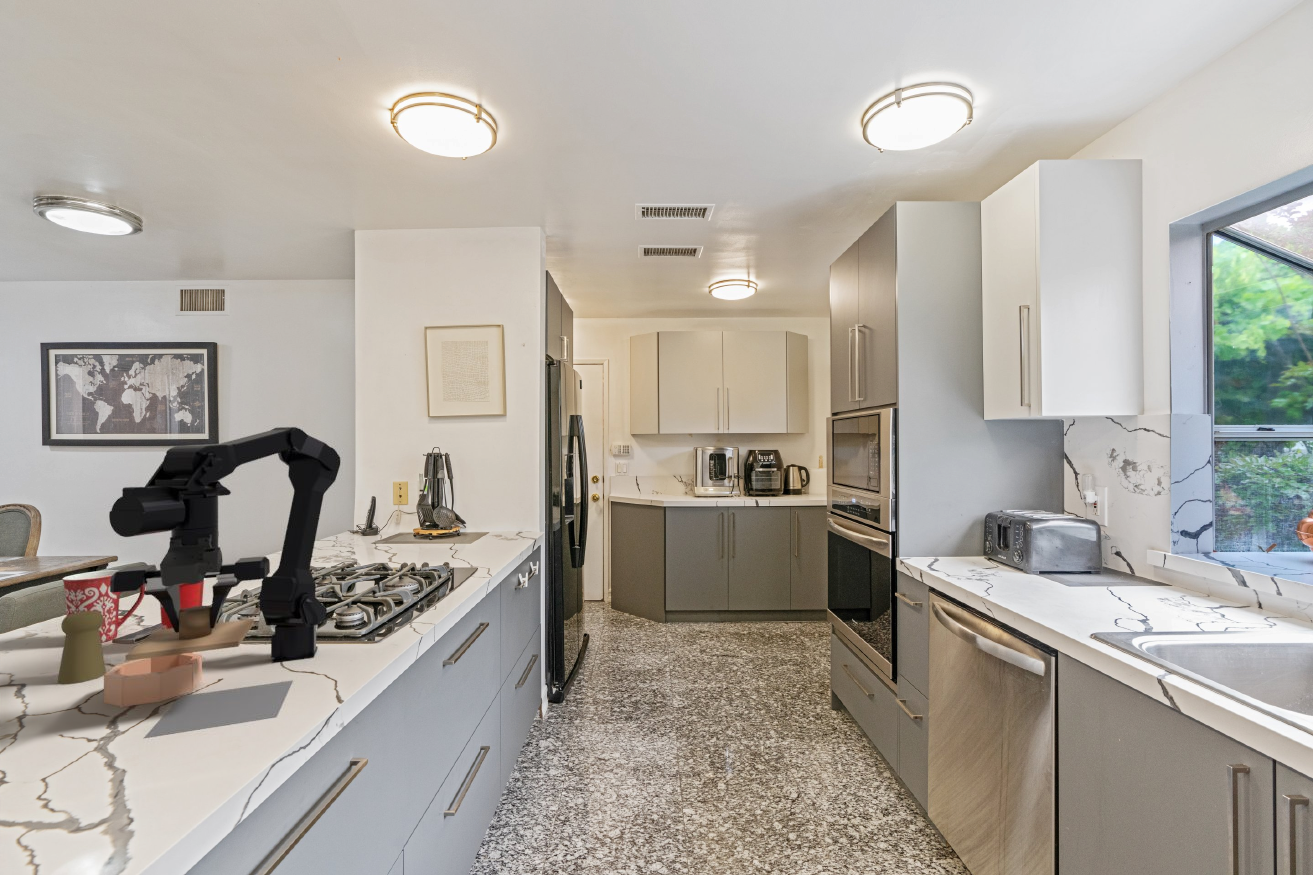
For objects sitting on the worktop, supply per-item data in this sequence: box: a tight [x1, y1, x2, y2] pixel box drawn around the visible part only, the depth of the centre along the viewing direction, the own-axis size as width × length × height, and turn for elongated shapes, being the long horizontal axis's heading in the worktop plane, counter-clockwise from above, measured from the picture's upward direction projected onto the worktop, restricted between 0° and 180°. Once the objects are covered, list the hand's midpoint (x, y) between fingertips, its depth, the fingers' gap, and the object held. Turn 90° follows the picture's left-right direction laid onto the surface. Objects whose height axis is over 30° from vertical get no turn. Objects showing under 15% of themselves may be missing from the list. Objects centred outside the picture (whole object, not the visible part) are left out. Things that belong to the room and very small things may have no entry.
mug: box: [61, 569, 146, 644], centre depth 125 cm, size 13×9×14 cm
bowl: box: [103, 652, 203, 708], centre depth 96 cm, size 11×11×4 cm
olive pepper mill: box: [57, 611, 107, 685], centre depth 103 cm, size 6×6×11 cm
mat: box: [143, 680, 294, 739], centre depth 89 cm, size 15×15×1 cm
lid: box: [124, 605, 255, 662], centre depth 92 cm, size 13×13×5 cm
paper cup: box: [159, 578, 207, 629], centre depth 120 cm, size 8×8×14 cm
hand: (195, 629), depth 92 cm, fingers closed on lid, 4 cm apart
